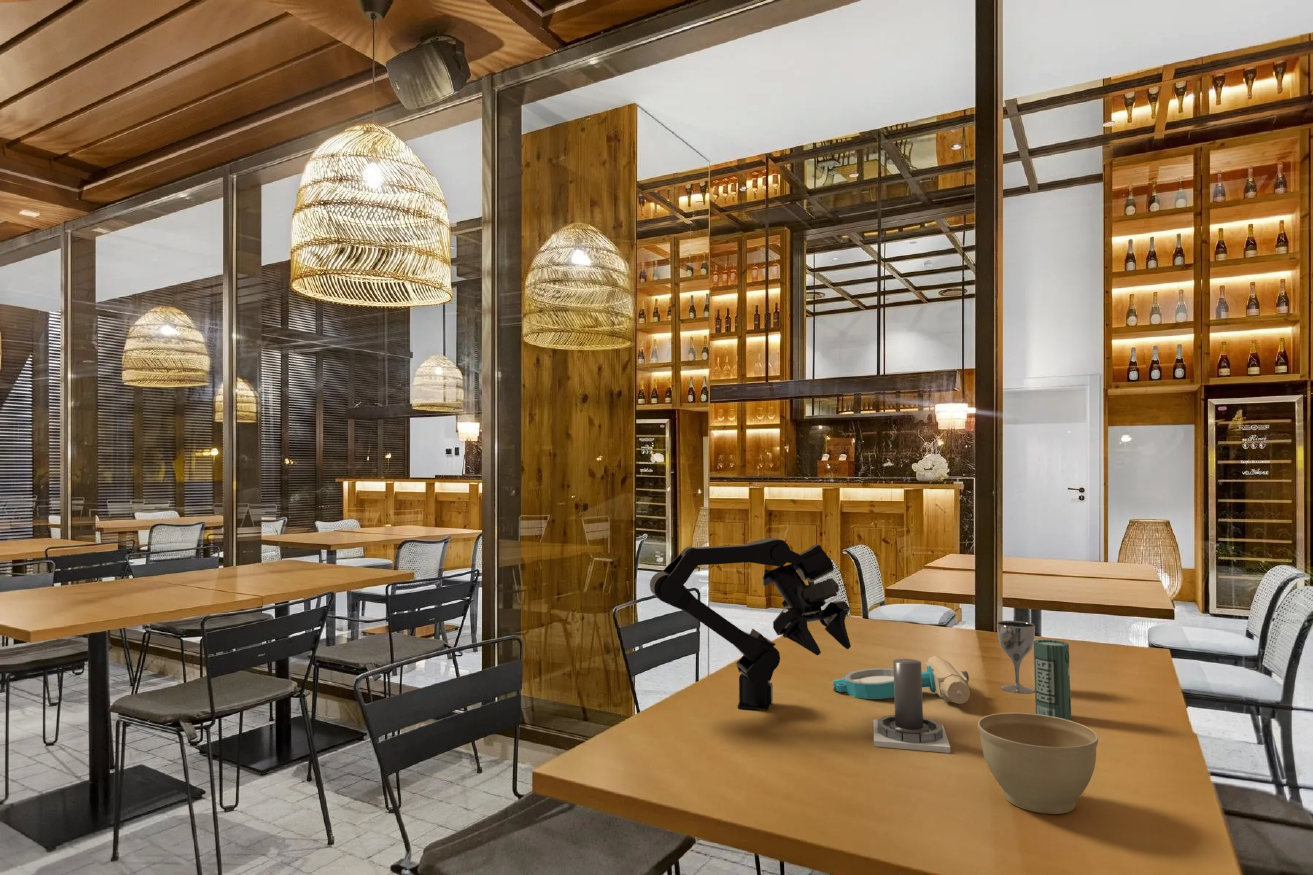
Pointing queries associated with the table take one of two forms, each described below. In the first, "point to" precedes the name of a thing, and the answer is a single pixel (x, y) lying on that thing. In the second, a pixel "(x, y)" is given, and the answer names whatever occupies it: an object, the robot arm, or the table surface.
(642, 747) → the table surface
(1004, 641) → the wine glass
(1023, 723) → the planter bowl
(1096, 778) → the table surface
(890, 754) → the table surface
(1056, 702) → the can
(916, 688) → the pipe fitting
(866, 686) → the butterfly valve
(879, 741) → the flange plate
